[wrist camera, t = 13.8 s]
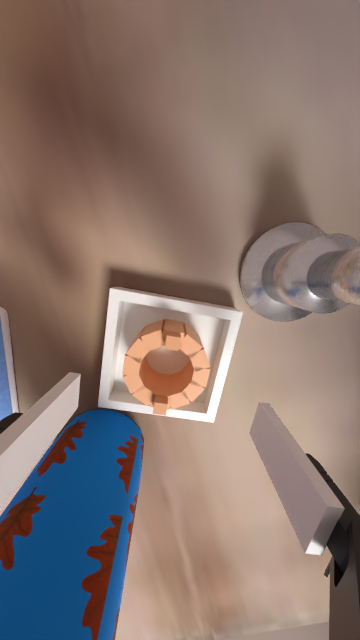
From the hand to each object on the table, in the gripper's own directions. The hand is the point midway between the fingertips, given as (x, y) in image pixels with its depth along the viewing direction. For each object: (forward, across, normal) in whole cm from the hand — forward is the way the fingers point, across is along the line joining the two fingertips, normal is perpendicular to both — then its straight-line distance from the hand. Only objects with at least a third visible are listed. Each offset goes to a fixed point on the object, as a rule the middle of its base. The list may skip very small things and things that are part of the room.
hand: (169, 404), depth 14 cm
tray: (+9, +1, 0) cm, 9 cm away
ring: (+8, 0, 0) cm, 8 cm away
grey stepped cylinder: (+9, -10, -11) cm, 18 cm away
